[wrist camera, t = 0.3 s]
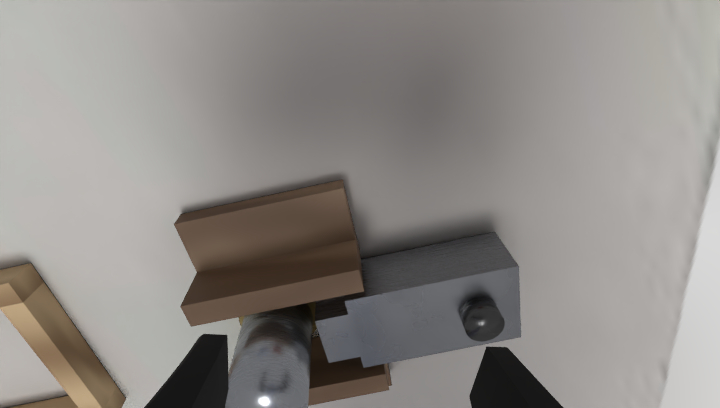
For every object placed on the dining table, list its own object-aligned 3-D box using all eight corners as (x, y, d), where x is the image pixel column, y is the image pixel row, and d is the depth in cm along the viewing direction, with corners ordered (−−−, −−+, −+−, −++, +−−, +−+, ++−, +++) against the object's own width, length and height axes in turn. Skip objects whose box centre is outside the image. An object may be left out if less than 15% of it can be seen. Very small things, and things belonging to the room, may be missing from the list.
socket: (389, 371, 26) (397, 423, 23) (265, 396, 26) (256, 450, 23) (342, 179, 20) (344, 214, 16) (181, 214, 20) (153, 254, 17)
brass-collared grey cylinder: (326, 326, 24) (325, 433, 18) (256, 340, 24) (232, 450, 18) (308, 268, 22) (299, 366, 16) (231, 284, 22) (196, 387, 16)
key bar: (498, 297, 23) (529, 352, 20) (332, 331, 23) (332, 390, 20) (495, 232, 21) (528, 279, 18) (313, 269, 21) (309, 323, 18)
